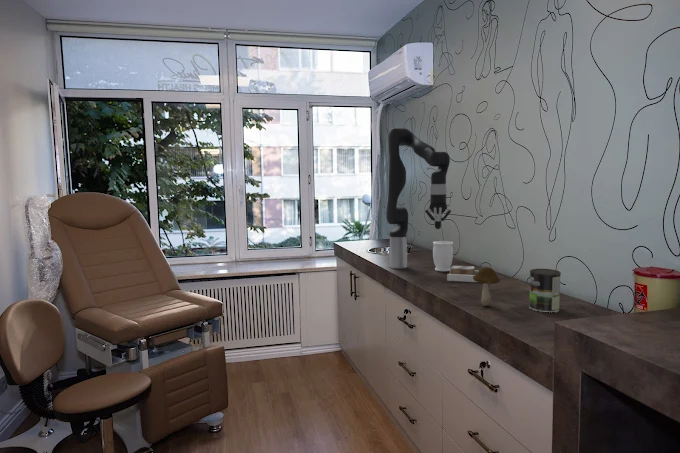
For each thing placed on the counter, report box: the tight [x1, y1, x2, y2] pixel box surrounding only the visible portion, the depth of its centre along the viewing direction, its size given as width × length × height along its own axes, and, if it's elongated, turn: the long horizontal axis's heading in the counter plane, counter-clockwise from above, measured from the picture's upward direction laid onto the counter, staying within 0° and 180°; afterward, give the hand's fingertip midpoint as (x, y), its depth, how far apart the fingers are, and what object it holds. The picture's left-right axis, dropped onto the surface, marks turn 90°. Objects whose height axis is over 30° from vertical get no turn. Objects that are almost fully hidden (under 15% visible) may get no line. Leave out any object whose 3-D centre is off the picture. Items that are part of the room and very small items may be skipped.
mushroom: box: [473, 266, 501, 307], centre depth 173 cm, size 9×11×15 cm
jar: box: [432, 240, 454, 272], centre depth 240 cm, size 11×10×15 cm
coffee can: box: [528, 268, 562, 314], centre depth 167 cm, size 10×10×14 cm
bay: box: [446, 269, 479, 283], centre depth 220 cm, size 15×12×3 cm
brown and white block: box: [450, 265, 476, 275], centre depth 221 cm, size 11×7×6 cm, turn 72°
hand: (437, 228), depth 222 cm, fingers closed
